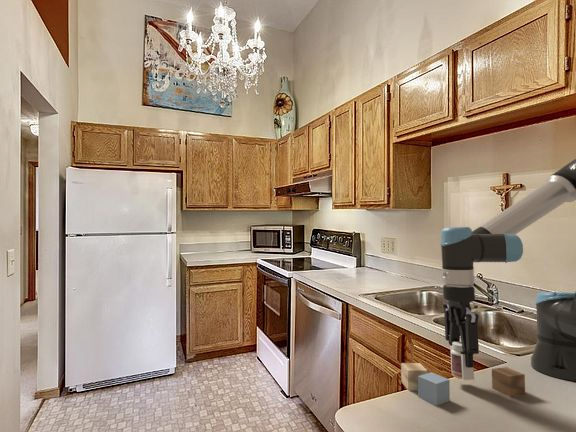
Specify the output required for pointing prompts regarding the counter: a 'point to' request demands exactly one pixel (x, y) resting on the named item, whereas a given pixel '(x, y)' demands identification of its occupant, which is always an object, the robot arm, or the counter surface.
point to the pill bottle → (456, 359)
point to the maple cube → (411, 374)
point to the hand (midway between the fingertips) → (462, 374)
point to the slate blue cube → (434, 388)
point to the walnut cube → (508, 381)
